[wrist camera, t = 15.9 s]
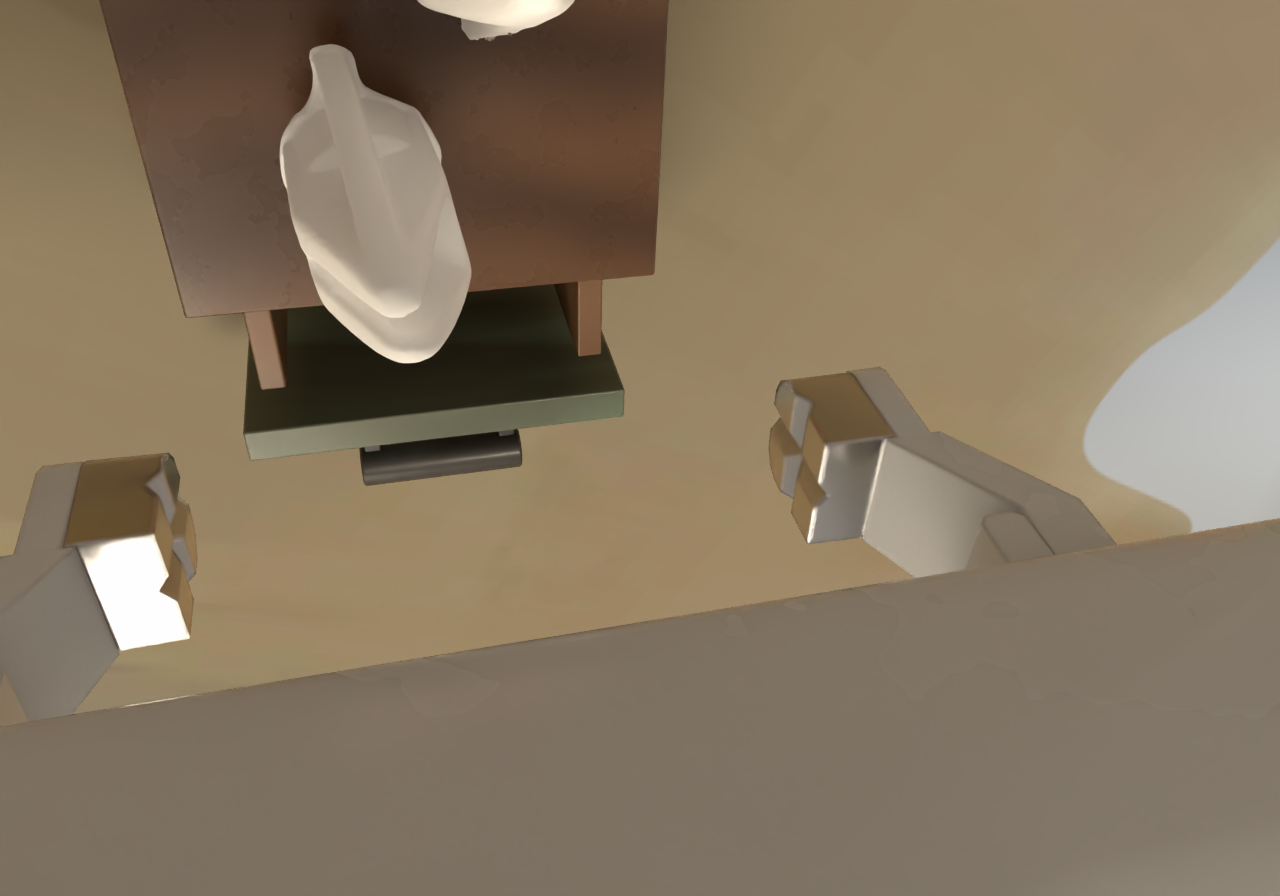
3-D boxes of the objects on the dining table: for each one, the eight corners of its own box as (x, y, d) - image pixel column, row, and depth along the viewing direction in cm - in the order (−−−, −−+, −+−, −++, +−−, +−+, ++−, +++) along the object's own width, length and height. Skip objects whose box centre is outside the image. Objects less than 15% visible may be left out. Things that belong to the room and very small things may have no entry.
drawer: (580, 386, 47) (620, 509, 41) (276, 420, 44) (273, 556, 39) (581, -92, 35) (638, -15, 29) (164, -83, 32) (134, 4, 26)
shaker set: (403, 251, 31) (442, 510, 23) (253, 206, 29) (237, 470, 21) (575, -182, 25) (709, -42, 17) (400, -274, 23) (458, -165, 15)
